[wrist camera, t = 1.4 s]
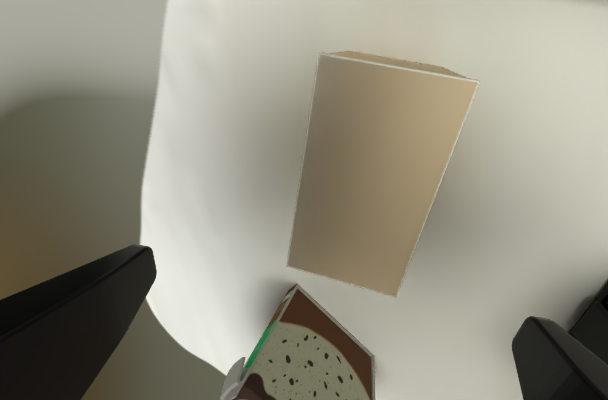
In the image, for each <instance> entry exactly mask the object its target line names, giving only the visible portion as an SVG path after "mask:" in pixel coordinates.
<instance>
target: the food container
mask: <svg viewBox="0 0 608 400" xmlns="http://www.w3.org/2000/svg"><path fill="white" fill-rule="evenodd" d="M244 362H245V357H242V358H241V359H240V360H238V361H237V362H236V363H235V364H234V365H233V366H232V368H231V369H230V370H229V372H228V374H227V377H226V379H225V383H224V386H223V390H222V393H221V397H220V400H375V375H374V355H373V354H372V353H371V352H370V351H369V350H368V349H366V348H365V347H364V346H363V345H362V344H361V343H360V342H359V341H358V340H357V339H356V338H355V337H354V336H353V335H351V334H350V333H349V332H348V331H347V330H346V329H345V328H344V327H343V326H342V325H341V324H340V323H339V322H338V321H337V320H335V319H334V318H333V317H332V316H331V315H330V314H329V313H328V312H327V311H326V310H325V309H324V308H323V307H322V306H321V305H319V304H318V303H317V302H316V301H315V300H314V299H313V298H312V297H311V296H310V295H309V294H308V293H307V292H306V291H305V290H303V289H302V288H301V287H300V286H299V285H298V284H296V285H295V286H294V287H292V288H291V289H290V290H289V291H288V293H287V294H286V296H285V298H284V300H283V301H282V303H281V305H280V306H279V308H278V310H277V311H276V313H275V315H274V316H273V318H272V320H271V322H270V323H269V325H268V327H267V328H266V330H265V332H264V333H263V335H262V337H261V339H260V340H259V342H258V344H257V345H256V347H255V349H254V350H253V352H252V354H251V355H250V357H249V359H248V361H247V362H246V364H245V366H244ZM243 366H244V367H243Z"/></svg>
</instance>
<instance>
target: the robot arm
mask: <svg viewBox="0 0 608 400" xmlns="http://www.w3.org/2000/svg"><path fill="white" fill-rule="evenodd" d="M156 273H157V271H156V265H155V260H154V255H153V251H152V249H151V248H150V247H148V246H143V245H138V244H134V245H131V246H128V247H126V248H124V249H121V250H119V251H116V252H114V253H112V254H110V255H107V256H104V257H102V258H100V259H97V260H95V261H93V262H90V263H88V264H85V265H83V266H81V267H78V268H76V269H74V270H71V271H68V272H66V273H64V274H61V275H59V276H57V277H54V278H52V279H50V280H47V281H45V282H42V283H40V284H37V285H35V286H33V287H31V288H28V289H25V290H23V291H20V292H18V293H16V294H13V295H11V296H9V297H6V298H4V299H1V300H0V400H81V398H82V397H83V396H84V394H85V393H86V391H87V390H88V388H89V387H90V385H91V384H92V382H93V381H94V379H95V378H96V377H97V375H98V374H99V372H100V371H101V369H102V368H103V366H104V365H105V363H106V362H107V360H108V359H109V357H110V356H111V354H112V353H113V351H114V350H115V348H116V347H117V346H118V344H119V343H120V341H121V340H122V338H123V337H124V335H125V333H126V331H127V330H128V328H129V326H130V325H131V323H132V321H133V319H134V317H135V316H136V314H137V312H138V310H139V308H140V306H141V305H142V303H143V301H144V299H145V297H146V295H147V294H148V292H149V290H150V288H151V286H152V284H153V283H154V281H155V278H156ZM512 351H513V356H514V360H515V364H516V369H517V373H518V377H519V382H520V386H521V391H522V395H523V399H524V400H608V284H607V286H606V287H605V288H604V289H603V291H602V292H601V293H600V294H599V296H598V297H597V298H596V299H595V301H594V302H593V303H592V304H591V306H590V307H589V308H588V309H587V311H586V312H585V313H584V314H583V316H582V317H581V318H580V319H579V321H578V322H577V323H576V324H575V326H574V327H573V328H572V329H571V331H570V332H569V333H567V332H566V331H564V330H563V329H562V328H561V327H559V326H558V325H557V324H556V323H554V322H553V321H551V320H549V319H545V318H540V317H534V316H530V317H528V318H526V319H525V321H524V322H523V324H522V326H521V327H520V329H519V330H518V332H517V334H516V335H515V337H514V339H513V342H512Z"/></svg>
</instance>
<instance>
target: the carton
mask: <svg viewBox="0 0 608 400" xmlns="http://www.w3.org/2000/svg"><path fill="white" fill-rule="evenodd" d="M479 83H480V81H478V80H476V79H471V78H466V77H464V76H461V75H459V74H457V73H454V72H452V71H450V70H448V69H445V68H443V67H439V66H433V65H427V64H421V63H416V62H410V61H404V60H398V59H392V58H386V57H381V56H375V55H369V54H363V53H357V52H351V51H345V52H338V53H330V54H327V53H319V55H318V61H317V68H316V74H315V81H314V87H313V94H312V101H311V107H310V114H309V120H308V127H307V133H306V140H305V147H304V153H303V160H302V166H301V173H300V180H299V186H298V193H297V199H296V206H295V212H294V219H293V226H292V232H291V239H290V245H289V252H288V258H287V265H286V266H287V267H290V268H294V269H297V270H301V271H304V272H308V273H311V274H315V275H318V276H322V277H325V278H329V279H332V280H336V281H339V282H343V283H346V284H350V285H353V286H357V287H360V288H364V289H368V290H371V291H375V292H378V293H382V294H385V295H389V296H392V297H397V295H398V292H399V289H400V287H401V284H402V282H403V279H404V277H405V274H406V271H407V269H408V266H409V264H410V261H411V259H412V256H413V253H414V251H415V248H416V246H417V243H418V240H419V238H420V235H421V233H422V230H423V228H424V225H425V222H426V220H427V217H428V215H429V212H430V210H431V207H432V204H433V202H434V199H435V197H436V194H437V192H438V189H439V186H440V184H441V181H442V179H443V176H444V173H445V171H446V168H447V166H448V163H449V161H450V158H451V155H452V153H453V150H454V148H455V145H456V143H457V140H458V137H459V135H460V132H461V130H462V127H463V124H464V122H465V119H466V117H467V114H468V112H469V109H470V106H471V104H472V101H473V99H474V96H475V94H476V91H477V88H478V86H479Z"/></svg>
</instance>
